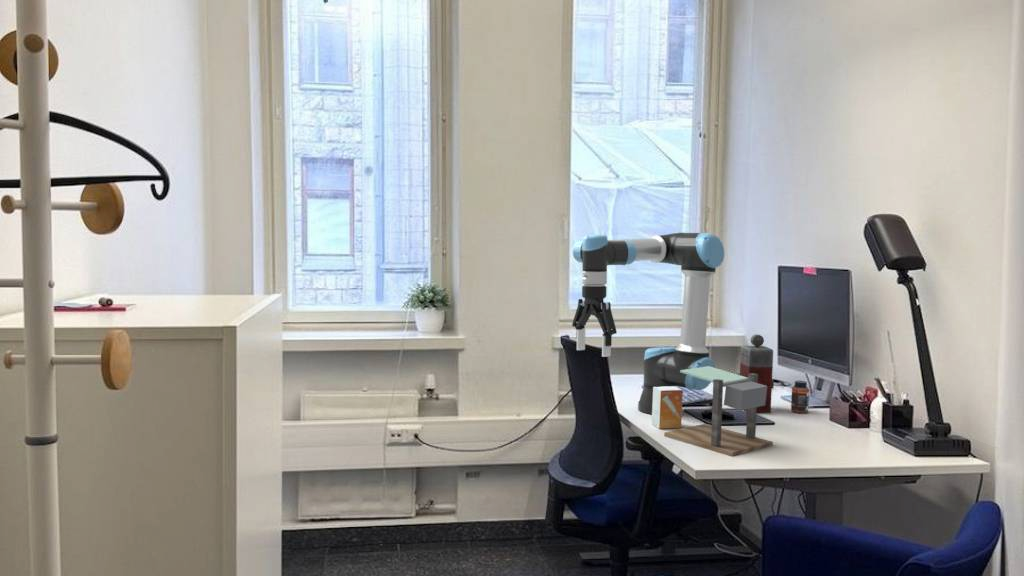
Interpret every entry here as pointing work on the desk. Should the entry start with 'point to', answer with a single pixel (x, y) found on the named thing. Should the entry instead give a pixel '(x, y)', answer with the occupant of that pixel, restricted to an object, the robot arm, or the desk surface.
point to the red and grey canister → (758, 367)
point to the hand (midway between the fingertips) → (593, 353)
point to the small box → (667, 407)
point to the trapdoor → (733, 387)
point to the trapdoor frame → (719, 437)
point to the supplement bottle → (800, 397)
